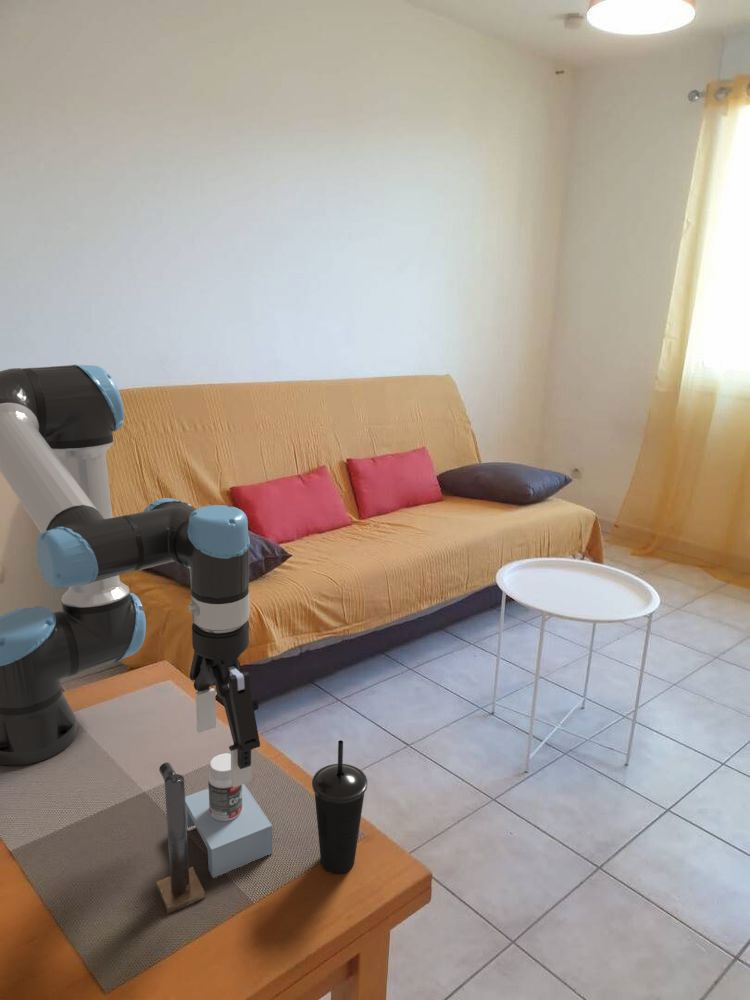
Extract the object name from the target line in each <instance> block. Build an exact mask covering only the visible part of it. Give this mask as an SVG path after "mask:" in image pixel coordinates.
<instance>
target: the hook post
mask: <svg viewBox="0 0 750 1000" xmlns="http://www.w3.org/2000/svg"><path fill="white" fill-rule="evenodd" d="M174 769H175V768H173V766H172V764H171V763H170V762H164V763H162V764H161V765H160V766H159V773H160V775H161V777H162V778H163V781H164V789H165V790H164V793H165V795H164V796H165V807H166V809H165V810H166V826H167V828H166V829H167V839H168V840H167V842H168V859H169V874H170V875H168V876H167V877H163V878H161V879H159V880H157V881H155V882H156V883H155V884H156V889H157V888H158V889H157V891H158V890H159V891H158V894H159V893H160V894H159V896H160V895H161V896H160V898H161V897H162V898H161V901H162V900H163V901H162V903H163V902H164V903H163V905H165V906H164V907H165V910H166V913H167V914H169V915H170V914H171V913H173V911H174V912H175V910H176V911H179V910H180V909H179V908H181V907H182V906H183V908H185V907H186V906H185V905H187V904H189V903H191V902H194V901H196V900H198V899H201V898H203V897H205V898H206V893H205V889H204V888H203V885H202V883H201V881H200V879H199V877H198V875H197V874H196V871H195V869H194V867H193V866H190V867H189V865H190V864H189V848H188V847H189V845H188V830H187V825H186V806H185V796H186V790H185V788H186V787H185V778H184V777H185V776H183V775H182V774H180V773H179V774H178V773H176V771H175V770H174ZM201 900H202V899H201ZM184 906H185V907H184ZM181 909H182V908H181Z"/></svg>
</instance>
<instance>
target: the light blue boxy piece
mask: <svg viewBox="0 0 750 1000" xmlns="http://www.w3.org/2000/svg"><path fill="white" fill-rule="evenodd" d="M245 784H246V783H245ZM245 784H243V785H242V811H241V813H240V814H239V815H238V816H237V817H236V818H234V819H232V820H229V821H219V820H216V819H214V818H213V817H212V816H211V815H210V810H209V787H208V788H206V789H203V790H200V791H197V792H194V793H191V794H189V795H185V806H186V825H187V827H188V828H189V827H191V826H194V825H195V826H196V830H197V832H198V834H199V836H200V837H201V839H202V841H203V843H204V845H205V847H206V848H207V862H208V865H207V866H208V872H209V871H210V873H211V875H210V876H212V877H213V878H214V877H215V876H218V875H221V876H223V875H222V874H224V873H225V872H228V871H231V870H233V869H235V870H237V869H236V868H238V867H240V866H241V867H240V868H242V866H243V865H245V864H247V865H249V864H248V863H250V862H252V861H254V862H256V861H255V860H257V859H259V860H261V859H260V858H262V857H264V856H266V857H268V856H267V855H269V856H271V855H273V824H272V823H271V821H270V820H269V818H268V817H267V816H266V814H265V813H264V811H263V809H262V808H261V806H260V805H259V804H258V802H257V801H256V799H255V798H254V796H253V795H252V793H251V792H250V790H249V788H248V787H247V786H246V785H245ZM270 854H271V855H270ZM264 858H265V857H264ZM262 859H263V858H262ZM257 861H258V860H257ZM252 863H253V862H252ZM250 864H251V863H250ZM245 866H246V865H245ZM243 867H244V866H243ZM238 869H239V868H238ZM233 871H234V870H233ZM231 872H232V871H231ZM210 873H209V874H210ZM228 873H229V872H228ZM224 875H225V874H224ZM212 877H211V878H212ZM214 879H215V878H214Z"/></svg>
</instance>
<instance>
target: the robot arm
mask: <svg viewBox="0 0 750 1000" xmlns="http://www.w3.org/2000/svg"><path fill="white" fill-rule="evenodd" d="M124 419H125V410H124V403H123V399H122V395H121V393H120V390H119V388H118V386H117V383H116V382H115V380H114V379H113V378H112V376H111V374H110V373H108V372H107V371H106V369H105V368H102V367H101V366H99V365H85V364H76V363H75V364H70V365H56V366H55V365H54V366H44V367H43V366H41V367H28V368H27V367H26V368H22V367H21V368H19V367H17V368H7V369H3V370H0V474H2V476H3V478H4V479H5V481H6V482H7V484H8V485H9V487H10V489H11V490H12V492H14V495H16V498H18V500H19V502H20V503H21V505H22V507H23V508H24V510H25V511H26V512H27V514H28V515H29V517H30V518H31V520H32V522H33V523H34V524H35V526H36V528H37V529H38V530H39V532H40V534H39V536H38V537H37V541H36V548H35V549H36V559H37V564H38V567H39V568H40V571H41V575H42V577H43V579H44V580H45V582H46V583H47V584H48V585H49V586H50V587H52V588H54V589H66V588H68V589H67V590H66V591H65V592H64V593H63V594H62V596H61V604H62V605H61V606H62V607H61V609H62V610H59V611H56V612H53V611H54V610H52V609H50V608H48V607H46V606H41V605H39V606H33V607H31V606H25V607H21V608H17V609H13V610H10V611H9V612H6V613H4V614H2V615H0V765H1V766H2V765H3V766H11V767H12V766H15V767H17V766H23V765H24V766H25V765H30V764H35V763H39V762H42V761H44V760H48V759H50V758H51V757H54V756H55V755H57V754H60V753H61V752H63V751H64V750H65V749H67V748H68V747H69V746H70V745H71V744H72V743H73V742H74V741H75V738H76V736H77V733H78V721H77V717H76V715H75V712H74V711H73V709H72V707H71V705H70V704H69V701H68V700H67V698H66V696H65V694H64V692H63V681H62V680H63V679H67V678H70V677H72V676H75V675H76V676H77V675H78V674H81V673H86V672H88V671H91V670H93V669H97V668H100V667H103V666H106V665H109V664H113V663H118V662H120V661H121V660H123V659H125V658H129V657H131V656H133V655H135V654H136V653H138V651H139V650H140V649H141V648H142V646H143V643H144V641H145V637H146V631H147V624H146V623H147V621H146V615H145V611H144V610H143V604H142V602H141V600H140V598H139V597H138V596H137V595H136V594H135V593H133V592H130V587H129V586H128V585H126V584H125V583H123V582H122V581H121V580H120V575H125V574H129V573H132V572H136V571H141V570H145V569H150V568H153V567H157V566H161V565H165V564H169V563H173V562H175V563H177V564H179V565H181V566H183V568H186V569H187V570H188V569H189V575H190V576H189V578H190V579H189V581H190V597H191V603H189V604H188V605H187V609H188V612H191V620H192V625H191V637H192V638H191V639H192V648H193V652H194V653H193V657H192V662H191V665H190V666H191V667H190V671H189V679H190V680H191V681H194V683H193V689H194V691H196V692H195V707H196V709H195V710H196V711H195V712H196V731H197V733H198V734H199V733H203V732H205V731H209V730H212V729H216V728H217V713H216V712H217V711H216V704H217V703H216V695H217V697H218V698H219V699H222V702H223V707H224V710H225V715H226V718H227V722H228V726H229V730H230V734H231V738H232V741H233V742H231V743H230V746H228V749H229V751H230V754H231V785H232V787H233V788H234V787H237V786H240V785H243V784H248V783H250V782H253V750H254V749H256V748H260V746H261V741H260V736H259V731H258V726H257V720H256V716H255V715H256V714H255V709H254V703H253V698H252V692H251V682H250V681H251V680H250V679H251V678H250V674H249V672H248V671H244V672H241V671H242V667H241V663H240V661H239V659H238V658H239V657H240V656H241V655H242V654H243V653H244V652H245V651H246V650H247V649H248V647H249V645H250V622H249V619H250V588H249V584H250V545H251V539H250V536H249V535H250V534H249V527H248V526H249V525H248V524H249V521H248V517H247V514H246V513H245V512H244V511H243V510H242V509H239V508H238V507H235V506H228V505H227V504H226V505H223V504H212V505H205V506H201V507H198V508H196V507H194V506H192V505H191V504H189V503H187V502H185V501H181V500H177V499H175V498H172V497H171V498H170V497H163V498H159V499H156V500H154V501H153V502H152V503H150V504H149V505H148V506H146V507H145V508H144V510H143V511H140V512H136V513H135V512H134V513H130V514H125V515H119V516H115V517H114V516H113V509H112V499H111V492H110V491H111V490H110V483H109V482H110V481H109V474H108V463H107V454H106V453H107V451H108V450H109V448H111V447H112V446H113V444H114V436H113V435H114V434H113V433H114V432H117V431H118V430H121V428H122V427H123V425H124ZM214 686H215V688H214ZM210 687H211V688H210ZM225 688H227V689H225ZM224 689H225V690H224Z"/></svg>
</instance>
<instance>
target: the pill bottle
mask: <svg viewBox="0 0 750 1000" xmlns="http://www.w3.org/2000/svg"><path fill="white" fill-rule="evenodd" d="M209 770H210V771H209V774H208V777H207V778H208V779H207V782H208V783H207V784H208V788H209V810H210V815H211V816H212V817H213V818H214V819H216V820H219V821H229V820H232V819H234V818H236V817H237V816H238V815H239V814H240V813H241V811H242V785H240V786H237V787H234V788H233V787H232V785H231V753H221V754H217V755H215V756H214V757H212V759H211V760H210V763H209Z"/></svg>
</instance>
